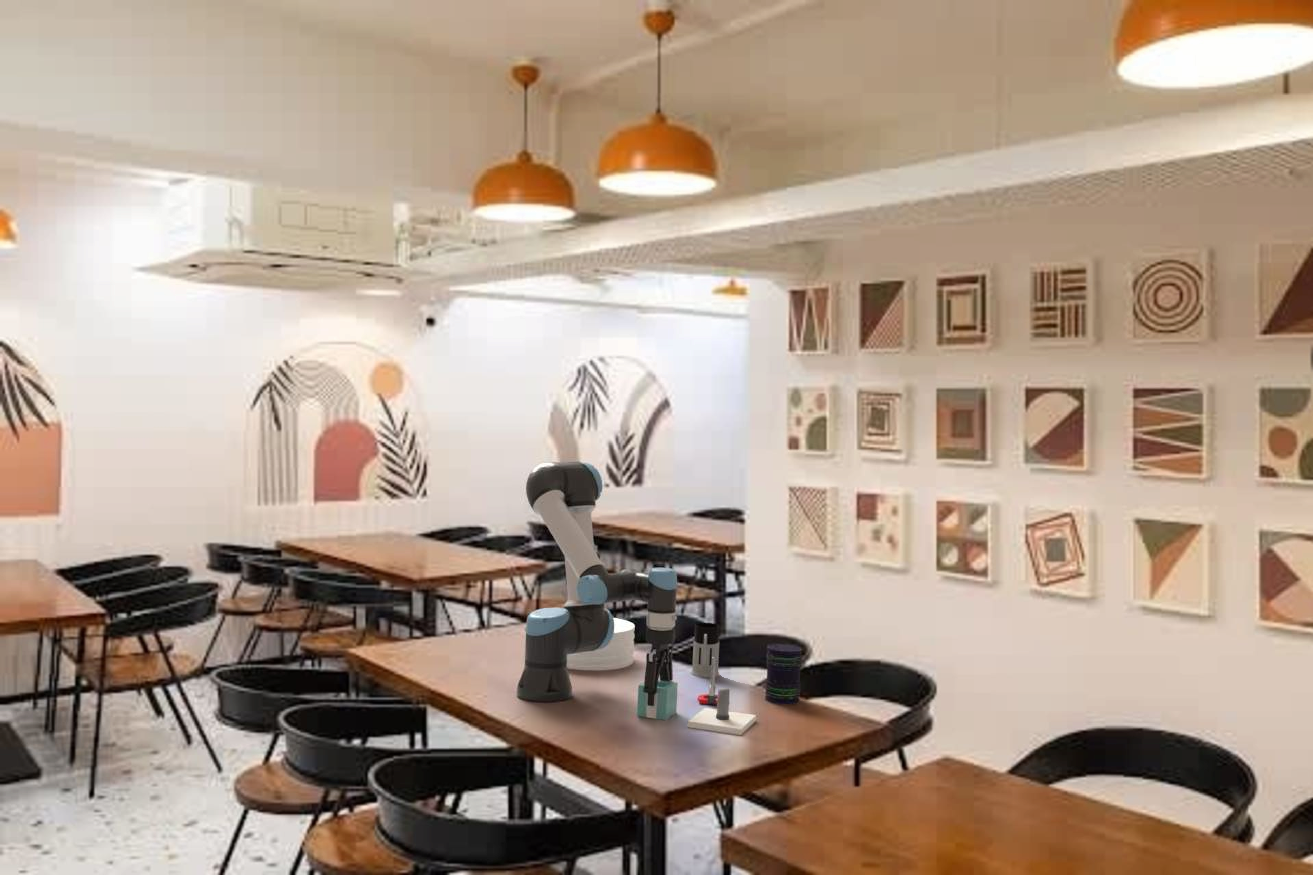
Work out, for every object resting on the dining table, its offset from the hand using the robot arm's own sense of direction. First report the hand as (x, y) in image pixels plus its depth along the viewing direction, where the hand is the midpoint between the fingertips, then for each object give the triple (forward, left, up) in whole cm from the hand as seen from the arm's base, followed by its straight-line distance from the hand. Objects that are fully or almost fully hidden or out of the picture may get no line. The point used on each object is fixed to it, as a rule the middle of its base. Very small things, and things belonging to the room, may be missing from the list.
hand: (657, 713), depth 284 cm
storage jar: (+26, +31, 0) cm, 40 cm away
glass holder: (-2, +46, 0) cm, 46 cm away
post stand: (+18, 0, 0) cm, 18 cm away
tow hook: (+9, +20, -1) cm, 22 cm away
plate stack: (-41, +47, -1) cm, 62 cm away
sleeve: (0, 0, 0) cm, 0 cm away
